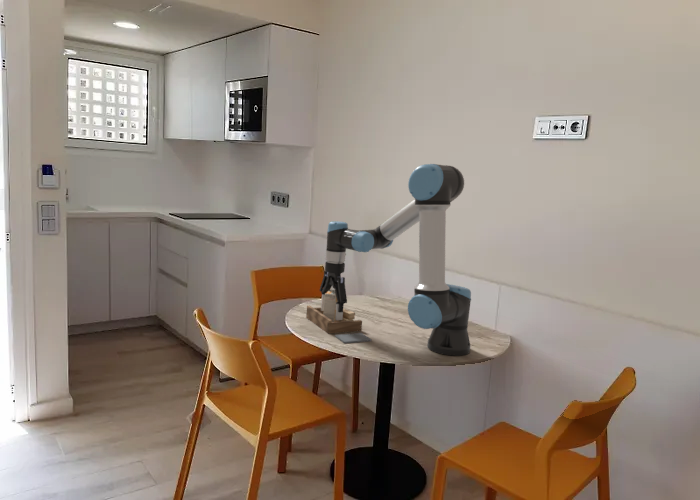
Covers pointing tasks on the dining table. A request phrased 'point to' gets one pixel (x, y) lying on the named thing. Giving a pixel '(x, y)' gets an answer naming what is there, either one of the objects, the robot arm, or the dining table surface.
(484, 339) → the dining table surface
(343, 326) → the wooden tray
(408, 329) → the dining table surface
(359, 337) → the mat
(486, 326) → the dining table surface
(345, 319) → the offcut lower
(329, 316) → the supplement box
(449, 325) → the robot arm
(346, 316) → the offcut upper
